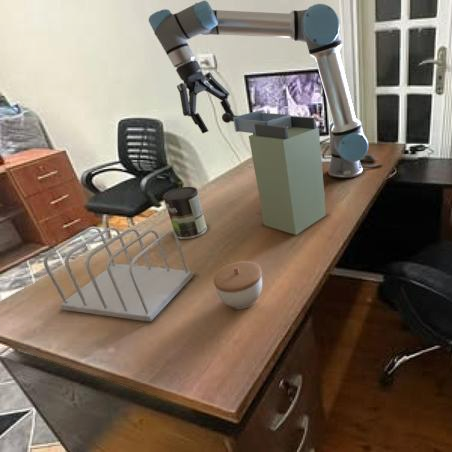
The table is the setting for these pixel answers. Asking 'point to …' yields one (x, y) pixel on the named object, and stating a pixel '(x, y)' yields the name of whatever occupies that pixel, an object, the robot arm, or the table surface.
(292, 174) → the stand
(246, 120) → the grey drawer
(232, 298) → the trinket box
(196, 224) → the coffee can
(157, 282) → the file sorter
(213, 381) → the table surface
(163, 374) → the table surface
